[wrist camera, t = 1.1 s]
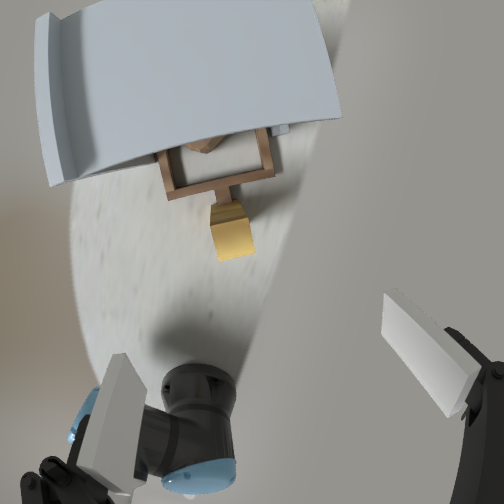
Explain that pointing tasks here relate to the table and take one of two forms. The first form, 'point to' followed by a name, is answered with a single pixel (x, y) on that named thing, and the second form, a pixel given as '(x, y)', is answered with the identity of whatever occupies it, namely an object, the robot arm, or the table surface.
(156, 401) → the table surface
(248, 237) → the pull yoke
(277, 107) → the shelf
